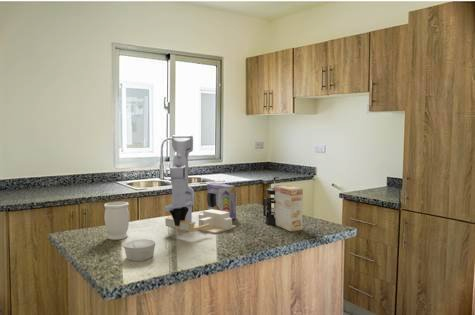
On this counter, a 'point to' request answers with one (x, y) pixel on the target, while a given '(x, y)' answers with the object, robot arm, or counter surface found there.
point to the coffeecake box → (288, 207)
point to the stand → (215, 221)
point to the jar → (116, 219)
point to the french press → (269, 206)
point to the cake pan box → (222, 198)
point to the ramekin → (139, 249)
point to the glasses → (184, 225)
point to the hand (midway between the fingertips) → (179, 224)
